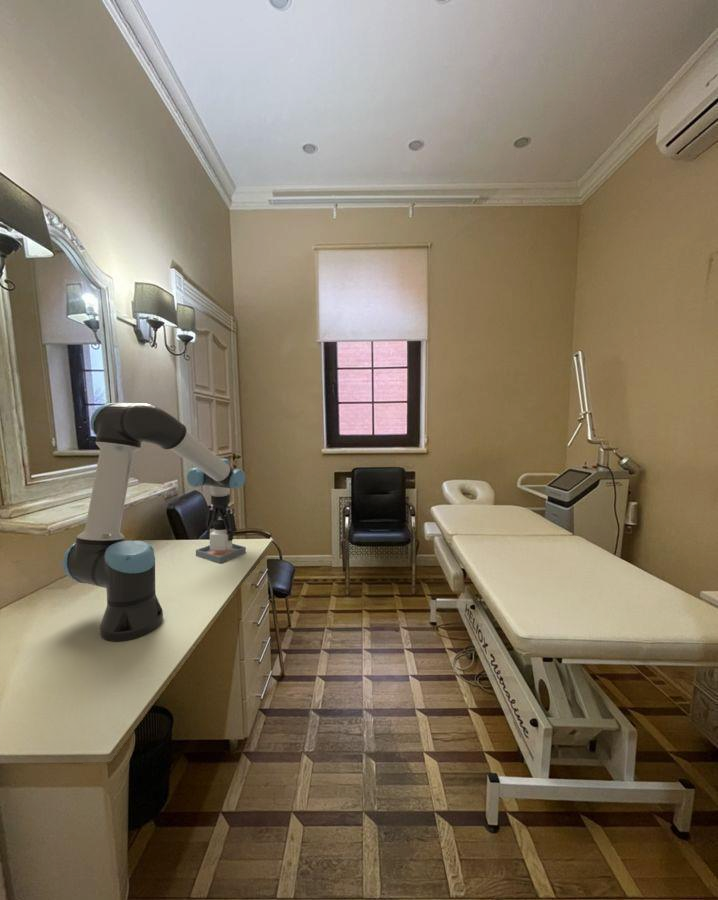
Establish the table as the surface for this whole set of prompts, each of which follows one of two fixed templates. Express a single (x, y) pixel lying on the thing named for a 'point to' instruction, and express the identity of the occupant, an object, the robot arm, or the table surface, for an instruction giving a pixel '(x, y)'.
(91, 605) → the table surface
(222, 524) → the medicine bottle
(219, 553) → the tray
